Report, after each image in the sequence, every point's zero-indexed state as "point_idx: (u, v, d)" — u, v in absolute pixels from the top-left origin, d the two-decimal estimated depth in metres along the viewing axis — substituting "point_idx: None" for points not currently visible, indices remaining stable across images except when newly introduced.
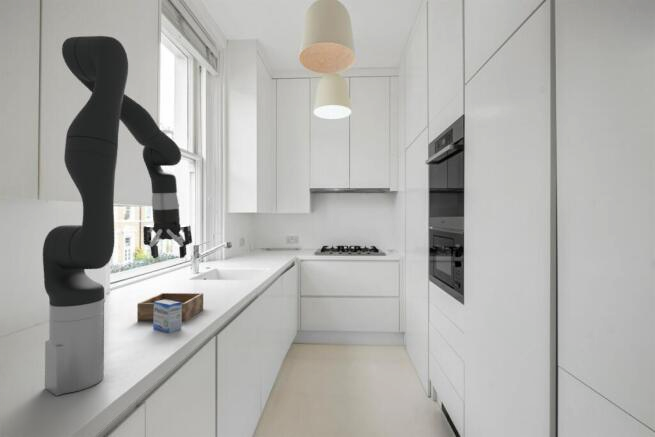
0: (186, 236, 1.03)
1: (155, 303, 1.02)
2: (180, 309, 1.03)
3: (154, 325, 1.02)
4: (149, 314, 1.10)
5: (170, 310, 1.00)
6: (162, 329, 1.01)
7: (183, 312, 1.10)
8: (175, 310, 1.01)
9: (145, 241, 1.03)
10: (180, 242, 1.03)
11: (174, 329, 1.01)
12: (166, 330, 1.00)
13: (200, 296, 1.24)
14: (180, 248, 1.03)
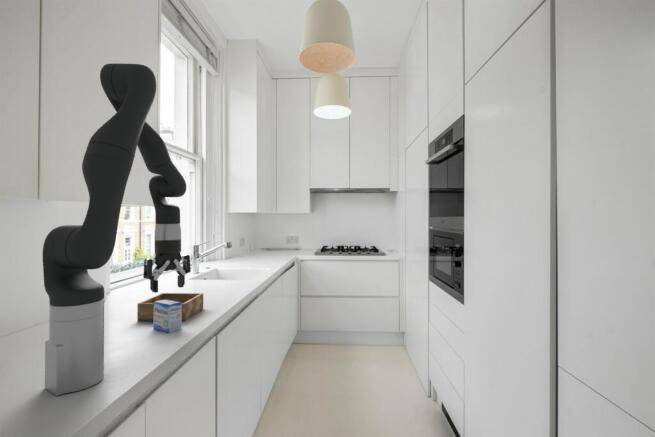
0: (188, 265, 1.08)
1: (155, 303, 1.03)
2: (180, 309, 1.03)
3: (154, 325, 1.02)
4: (149, 314, 1.10)
5: (170, 310, 1.00)
6: (162, 329, 1.01)
7: (183, 312, 1.10)
8: (175, 310, 1.01)
9: (149, 275, 0.97)
10: (183, 271, 1.06)
11: (174, 329, 1.01)
12: (166, 330, 1.00)
13: (200, 296, 1.24)
14: (182, 277, 1.06)
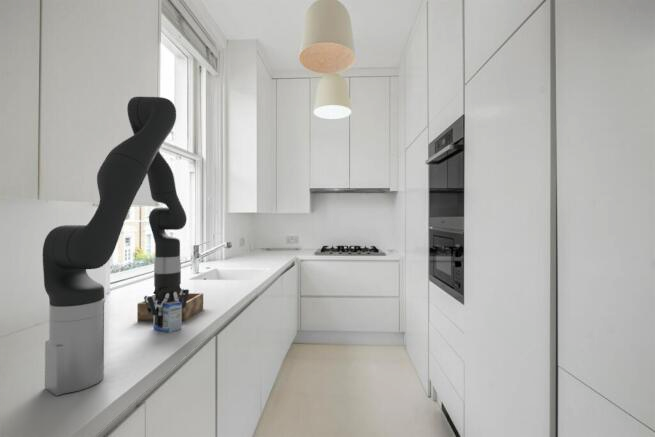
0: (185, 300, 1.07)
1: (155, 303, 1.02)
2: (180, 309, 1.03)
3: (154, 325, 1.02)
4: (149, 314, 1.10)
5: (170, 310, 1.00)
6: (162, 329, 1.01)
7: (183, 312, 1.10)
8: (175, 309, 1.01)
9: (154, 311, 0.98)
10: None
11: (174, 329, 1.01)
12: (166, 330, 1.00)
13: (200, 296, 1.24)
14: None
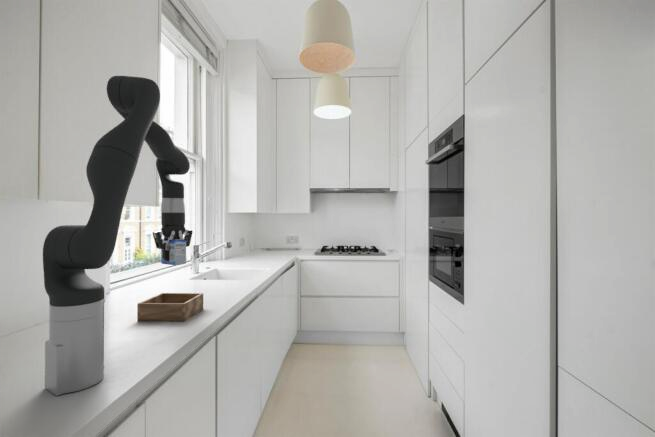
0: (189, 239, 1.19)
1: (162, 240, 1.14)
2: (185, 245, 1.14)
3: (162, 260, 1.15)
4: (149, 314, 1.10)
5: (176, 245, 1.11)
6: (169, 262, 1.13)
7: (183, 312, 1.10)
8: (180, 245, 1.13)
9: (161, 245, 1.10)
10: None
11: (179, 262, 1.13)
12: (172, 263, 1.12)
13: (200, 296, 1.24)
14: None
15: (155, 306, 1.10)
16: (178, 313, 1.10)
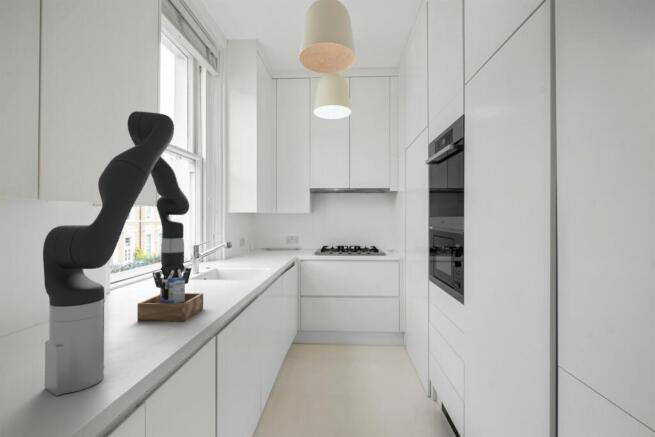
0: (188, 277, 1.22)
1: (162, 278, 1.18)
2: (183, 284, 1.18)
3: (161, 298, 1.18)
4: (149, 314, 1.10)
5: (175, 284, 1.15)
6: (168, 301, 1.16)
7: (183, 312, 1.10)
8: (179, 284, 1.16)
9: (161, 285, 1.13)
10: None
11: (178, 301, 1.16)
12: (171, 301, 1.15)
13: (200, 296, 1.24)
14: None
15: (155, 306, 1.10)
16: (178, 313, 1.10)
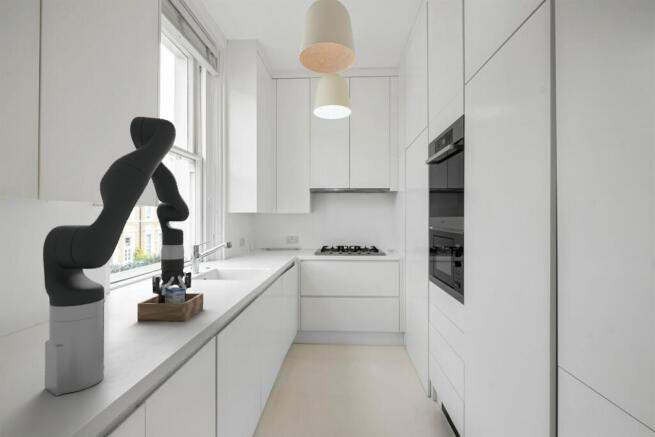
0: (189, 281, 1.23)
1: None
2: (183, 294, 1.18)
3: None
4: (149, 314, 1.10)
5: (174, 295, 1.15)
6: None
7: (183, 312, 1.10)
8: (178, 295, 1.16)
9: (158, 290, 1.13)
10: (184, 287, 1.21)
11: None
12: None
13: (200, 296, 1.24)
14: None
15: (155, 306, 1.10)
16: (178, 313, 1.10)
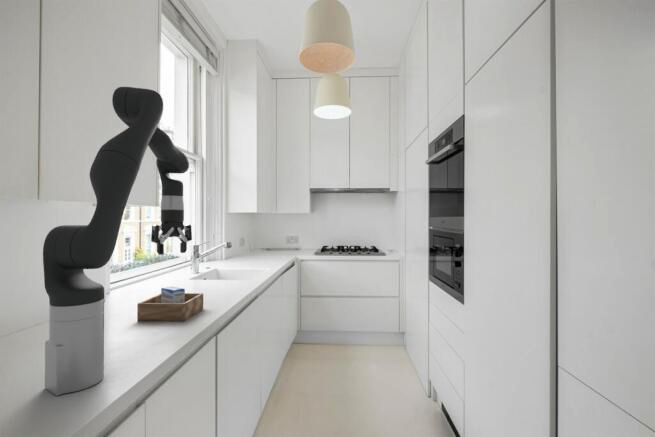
0: (190, 233, 1.23)
1: (162, 289, 1.18)
2: (183, 294, 1.18)
3: None
4: (149, 314, 1.10)
5: (174, 295, 1.15)
6: None
7: (183, 312, 1.10)
8: (178, 295, 1.16)
9: (156, 239, 1.12)
10: (185, 238, 1.22)
11: None
12: None
13: (200, 296, 1.24)
14: (184, 244, 1.21)
15: (155, 306, 1.10)
16: (178, 313, 1.10)
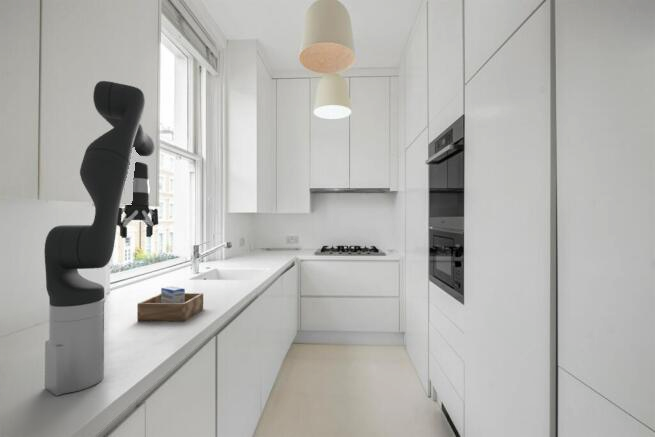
0: (156, 217, 1.21)
1: (162, 289, 1.18)
2: (183, 294, 1.18)
3: None
4: (149, 314, 1.10)
5: (174, 295, 1.15)
6: None
7: (183, 312, 1.10)
8: (178, 295, 1.16)
9: (119, 221, 1.10)
10: (151, 222, 1.20)
11: None
12: None
13: (200, 296, 1.24)
14: (150, 228, 1.19)
15: (155, 306, 1.10)
16: (178, 313, 1.10)
